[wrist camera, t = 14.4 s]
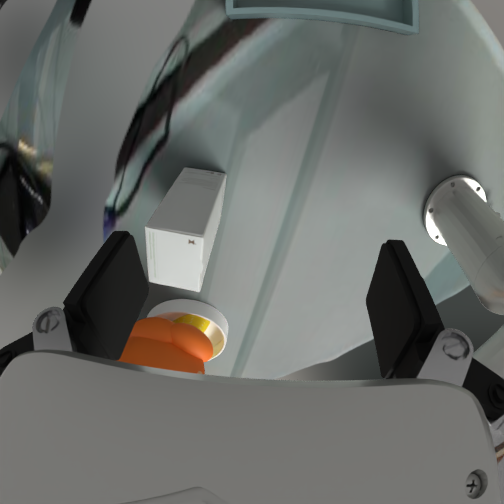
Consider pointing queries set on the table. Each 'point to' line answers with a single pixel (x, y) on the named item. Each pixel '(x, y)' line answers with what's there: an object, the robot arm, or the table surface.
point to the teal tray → (334, 12)
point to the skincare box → (185, 229)
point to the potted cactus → (177, 337)
